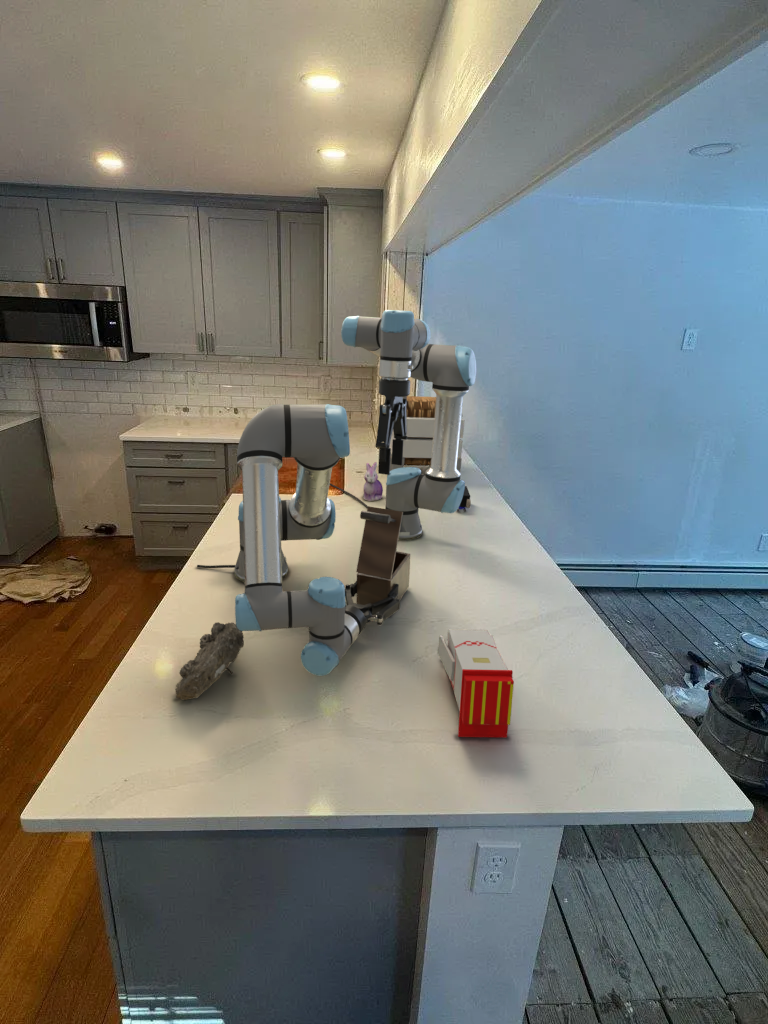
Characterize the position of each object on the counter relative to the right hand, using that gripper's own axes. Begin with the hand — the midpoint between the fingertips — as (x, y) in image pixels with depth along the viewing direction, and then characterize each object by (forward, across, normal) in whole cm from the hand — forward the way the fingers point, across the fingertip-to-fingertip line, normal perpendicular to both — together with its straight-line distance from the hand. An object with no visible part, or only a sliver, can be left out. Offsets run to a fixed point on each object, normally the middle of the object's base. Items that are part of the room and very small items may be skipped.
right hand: (390, 468), depth 143 cm
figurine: (+37, +79, +34) cm, 93 cm away
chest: (+36, -1, 0) cm, 36 cm away
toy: (+37, -31, -30) cm, 57 cm away
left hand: (+30, -5, 0) cm, 31 cm away
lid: (+18, -6, 0) cm, 19 cm away
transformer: (+37, +125, +27) cm, 133 cm away
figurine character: (+37, +84, -3) cm, 91 cm away
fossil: (+37, -46, +22) cm, 63 cm away
